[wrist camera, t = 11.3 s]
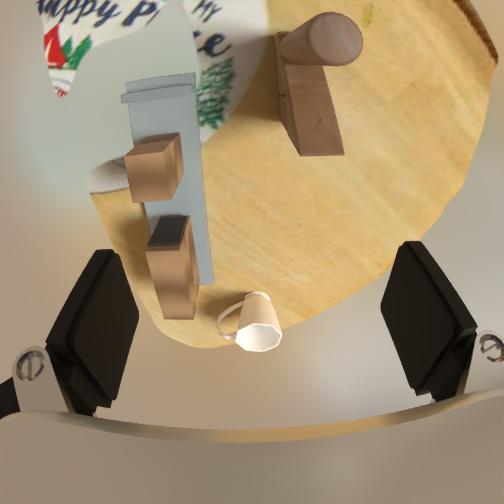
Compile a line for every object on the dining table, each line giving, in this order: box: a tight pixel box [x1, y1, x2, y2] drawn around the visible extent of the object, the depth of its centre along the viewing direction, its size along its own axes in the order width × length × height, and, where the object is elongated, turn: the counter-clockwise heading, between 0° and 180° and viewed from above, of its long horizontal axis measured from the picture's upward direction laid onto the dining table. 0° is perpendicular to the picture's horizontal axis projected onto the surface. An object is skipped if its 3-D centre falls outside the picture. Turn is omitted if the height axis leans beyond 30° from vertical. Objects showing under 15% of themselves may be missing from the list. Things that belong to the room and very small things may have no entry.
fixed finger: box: [145, 215, 200, 320], centre depth 39 cm, size 11×4×8 cm, turn 1°
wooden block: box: [274, 12, 363, 156], centre depth 23 cm, size 4×11×18 cm, turn 4°
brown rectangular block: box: [124, 132, 184, 203], centre depth 31 cm, size 5×4×8 cm
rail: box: [121, 73, 214, 285], centre depth 37 cm, size 30×8×3 cm, turn 1°
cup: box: [217, 291, 282, 352], centre depth 46 cm, size 7×10×8 cm
